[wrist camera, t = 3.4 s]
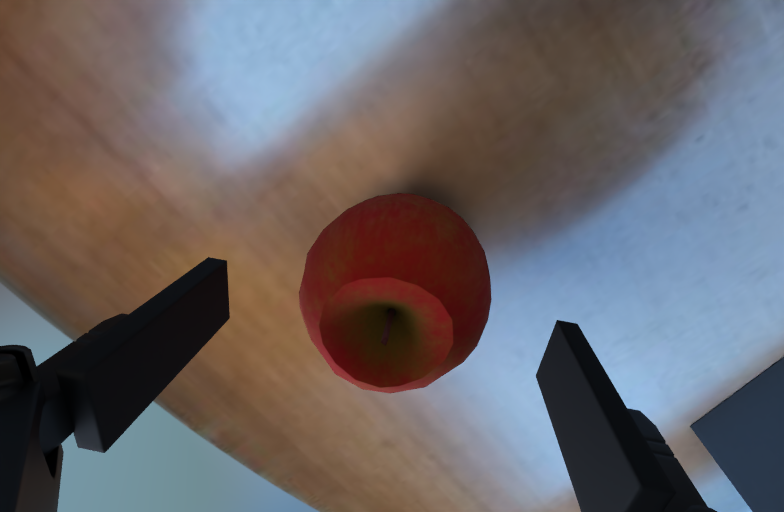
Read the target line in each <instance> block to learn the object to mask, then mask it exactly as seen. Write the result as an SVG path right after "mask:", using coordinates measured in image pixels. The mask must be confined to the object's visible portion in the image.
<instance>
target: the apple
mask: <svg viewBox="0 0 784 512" xmlns="http://www.w3.org/2000/svg"><path fill="white" fill-rule="evenodd" d="M299 302H300V309H301V312H302V316H303V319H304V322H305V325H306V328H307V330H308V333H309V335H310V338H311V340H312V342H313V343H314V345H315V346H316V347H317V349H318V350H319V352H320V353H321V354H322V356H323V357H324V359H325V360H326V362H327V363H328V364H329V366H330V367H331V369H332V370H333V371H334V373H335V374H336V375H338V376H340V377H342V378H343V379H345V380H347V381H349V382H351V383H352V384H354V385H356V386H358V387H360V388H361V389H365V390H372V391H378V392H385V393H395V392H400V391H406V390H411V389H417V388H423V387H426V386H427V385H429V384H431V383H432V382H434V381H435V380H437V379H438V378H440V377H441V376H443V375H444V374H446V373H447V372H449V371H450V370H452V369H453V368H455V367H456V366H458V365H460V364H461V363H463V362H464V361H465V359H466V358H467V357H468V356H469V355H470V353H471V352H472V351H473V350H474V349H475V347H476V346H477V345H478V342H479V340H480V337H481V335H482V333H483V330H484V328H485V325H486V323H487V321H488V316H489V310H490V304H491V285H490V275H489V269H488V265H487V260H486V256H485V252H484V250H483V248H482V246H481V244H480V243H479V241H478V239H477V237H476V235H475V234H474V232H473V230H472V229H471V228H470V227H469V226H468V224H467V223H466V222H465V221H464V220H463V218H461V217H460V216H459V215H458V214H456V213H455V212H454V211H453V210H451V209H450V208H449V207H447V206H444V205H442V204H440V203H438V202H435V201H433V200H431V199H428V198H425V197H421V196H418V195H415V194H402V193H397V194H390V195H382V196H377V197H374V198H371V199H368V200H365V201H363V202H361V203H359V204H357V205H355V206H353V207H351V208H349V209H347V210H346V211H345V212H343V213H342V214H341V215H340V216H339V217H338V218H336V219H335V220H334V221H333V222H332V223H330V224H329V225H328V226H327V227H326V228H325V229H323V231H322V232H321V234H320V235H319V237H318V238H317V240H316V241H315V243H314V244H313V246H312V247H311V249H310V250H309V252H308V253H307V259H306V264H305V270H304V275H303V279H302V283H301V287H300V291H299Z"/></svg>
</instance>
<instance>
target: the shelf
mask: <svg viewBox="0 0 784 512" xmlns="http://www.w3.org/2000/svg"><path fill="white" fill-rule="evenodd" d="M691 428H692V430H693V431H694V432H695V434H696V435H697V436H698V438H699V439H700V440H701V442H702V443H703V445H704V446H705V447H706V449H707V450H708V451H709V453H710V454H711V455H712V457H713V458H714V460H715V461H716V462H717V464H718V465H719V466H720V468H721V469H722V470H723V472H724V473H725V475H726V476H727V477H728V479H729V480H730V481H731V483H732V484H733V486H734V487H735V488H736V490H737V491H738V492H739V494H740V495H741V496H742V498H743V499H744V501H745V502H746V503H747V505H748V506H749V507H750V509H751V510H752V511H753V512H784V358H782V359H781V360H780V361H778V362H777V363H775V364H774V365H773V366H771V367H770V368H769V369H767V370H766V371H765V372H763V373H762V374H761V375H759V376H758V377H757V378H755V379H754V380H752V381H751V382H750V383H748V384H747V385H746V386H744V387H743V388H742V389H740V390H739V391H738V392H736V393H735V394H734V395H732V396H731V397H729V398H728V399H727V400H725V401H724V402H723V403H721V404H720V405H719V406H717V407H716V408H715V409H713V410H712V411H711V412H709V413H708V414H706V415H705V416H704V417H702V418H701V419H700V420H698V421H697V422H696V423H694V424H693V425H692V426H691Z"/></svg>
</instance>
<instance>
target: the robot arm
mask: <svg viewBox="0 0 784 512" xmlns="http://www.w3.org/2000/svg"><path fill="white" fill-rule="evenodd" d="M229 318H230V316H229V296H228V275H227V261H226V260H220V259H215V258H209V257H208V258H207V259H205V260H204V261H203V262H201V263H200V264H198V265H197V266H196V267H194V268H193V269H192V270H190V271H189V272H187V273H186V274H185V275H183V276H182V277H180V278H179V279H178V280H176V281H175V282H173V283H172V284H171V285H169V286H168V287H166V288H165V289H164V290H162V291H161V292H160V293H158V294H157V295H155V296H154V297H153V298H151V299H150V300H148V301H147V302H146V303H144V304H143V305H141V306H140V307H139V308H137V309H136V310H135V311H133V312H132V313H130V314H129V315H128V314H119V315H117V316H114V317H112V318H110V319H107V320H105V321H103V322H101V323H100V324H98V325H97V326H95V327H94V328H92V329H91V330H90V331H89V332H88V333H85V334H84V335H82V336H81V337H79V338H78V339H77V341H76V342H74V341H73V342H72V343H71V344H69V345H68V346H66V347H65V348H63V349H62V350H61V351H59V352H57V353H56V354H54V355H53V356H52V357H50V358H49V359H47V360H46V361H44V362H43V363H41V364H40V365H38V366H37V367H36V364H35V361H34V358H33V355H32V352H31V349H29V348H27V347H25V346H21V345H6V346H0V512H57V507H58V498H59V489H60V479H61V470H62V460H63V449H62V445H61V443H62V442H63V441H64V440H65V439H66V438H67V437H68V436H69V435H71V434H72V433H73V432H74V436H75V439H76V443H77V446H78V447H79V448H83V449H88V450H93V451H98V452H102V453H105V452H106V451H107V450H108V449H109V448H110V447H111V446H112V444H113V443H114V442H115V441H116V440H117V439H118V438H119V437H120V436H121V435H122V434H123V433H124V431H126V429H127V428H128V427H129V426H130V425H131V424H132V423H133V422H134V421H135V420H136V419H137V417H138V416H139V415H140V414H141V413H142V412H143V411H144V410H145V409H146V408H147V407H148V406H149V404H150V403H151V402H152V401H153V400H154V399H155V398H156V397H157V396H158V395H159V394H160V393H161V392H162V391H163V389H164V388H165V387H166V386H167V385H168V384H169V383H170V382H171V381H172V380H173V379H174V378H175V377H176V375H177V374H178V373H179V372H180V371H181V370H182V369H183V368H184V367H185V366H186V365H187V364H188V362H189V361H190V360H191V359H192V358H193V357H194V356H195V355H196V354H197V353H198V352H199V351H200V350H201V348H202V347H203V346H204V345H205V344H206V343H207V342H208V341H209V340H210V339H211V338H212V337H213V335H214V334H215V333H216V332H217V331H218V330H219V329H220V328H221V327H222V326H223V325H224V324H225V323H226V321H227V320H228V319H229ZM536 378H537V381H538V384H539V387H540V390H541V393H542V396H543V399H544V402H545V404H546V407H547V410H548V413H549V416H550V419H551V422H552V425H553V428H554V431H555V434H556V437H557V440H558V443H559V446H560V449H561V452H562V455H563V458H564V461H565V464H566V467H567V470H568V473H569V476H570V479H571V482H572V485H573V488H574V491H575V494H576V497H577V500H578V503H579V506H580V509H581V512H717V511H715V510H713V509H711V508H708V507H707V505H706V504H705V502H704V500H703V499H702V497H701V496H700V494H699V493H698V491H697V490H696V488H695V486H694V485H693V483H692V482H691V480H690V479H689V477H688V476H687V474H686V472H685V471H684V469H683V468H682V466H681V465H680V463H679V462H678V460H677V458H674V454H673V452H672V451H671V449H670V448H669V446H668V445H667V444H665V442H666V441H665V440H664V438H663V437H662V435H661V434H660V432H659V430H658V429H657V427H656V426H655V425H654V424H653V423H652V422H651V421H650V420H649V419H648V418H647V417H646V416H645V415H644V414H643V413H642V412H641V411H638V410H633V409H628V408H626V406H625V404H624V402H623V401H622V399H621V397H620V396H619V394H618V392H617V391H616V389H615V387H614V385H613V384H612V382H611V380H610V379H609V377H608V375H607V374H606V372H605V370H604V368H603V367H602V365H601V363H600V362H599V360H598V358H597V357H596V355H595V353H594V351H593V350H592V348H591V346H590V345H589V343H588V341H587V340H586V338H585V336H584V334H583V333H582V331H581V329H580V328H579V326H578V324H576V323H570V322H564V321H559V320H557V322H556V324H555V327H554V330H553V332H552V335H551V337H550V340H549V343H548V345H547V348H546V350H545V353H544V356H543V358H542V361H541V364H540V366H539V369H538V371H537V374H536Z"/></svg>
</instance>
